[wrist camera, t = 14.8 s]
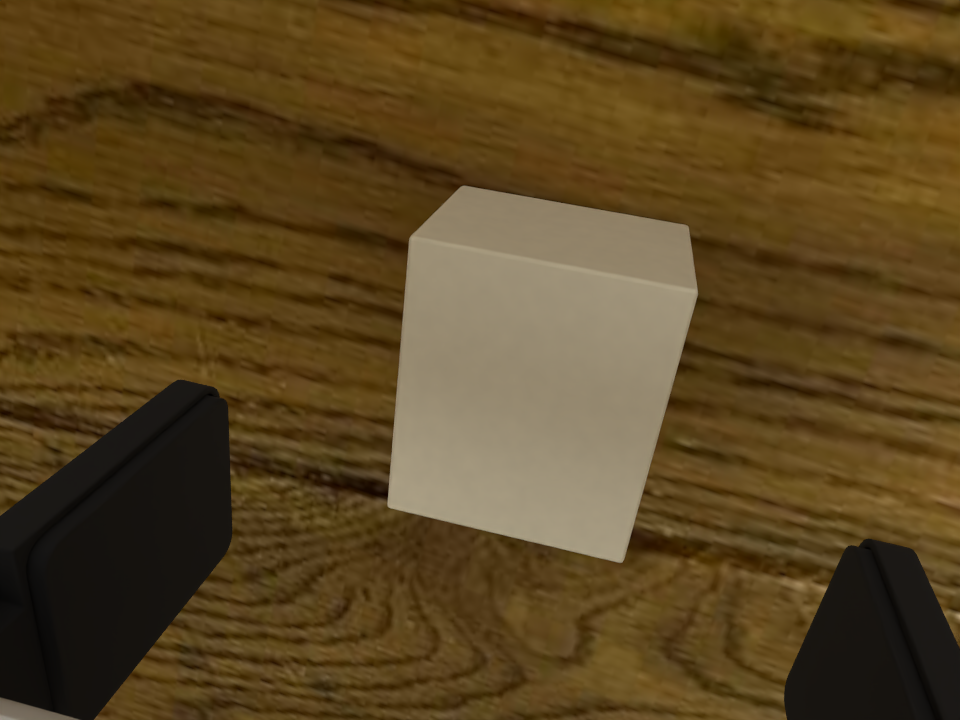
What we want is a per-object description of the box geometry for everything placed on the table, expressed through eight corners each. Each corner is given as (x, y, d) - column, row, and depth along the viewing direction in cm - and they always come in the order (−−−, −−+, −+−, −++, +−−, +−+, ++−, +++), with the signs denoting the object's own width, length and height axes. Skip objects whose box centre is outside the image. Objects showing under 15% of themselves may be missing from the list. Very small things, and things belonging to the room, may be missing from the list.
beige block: (461, 183, 16) (408, 235, 13) (689, 224, 16) (699, 290, 12) (435, 414, 19) (385, 508, 16) (629, 457, 19) (623, 565, 15)
